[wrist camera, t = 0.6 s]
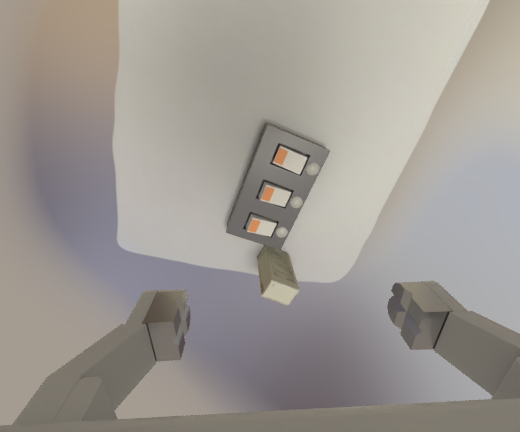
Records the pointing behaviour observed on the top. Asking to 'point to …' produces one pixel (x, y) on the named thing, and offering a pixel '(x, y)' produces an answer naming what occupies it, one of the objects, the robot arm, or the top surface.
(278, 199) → the rocker middle
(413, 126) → the top surface
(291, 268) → the skincare box
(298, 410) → the robot arm
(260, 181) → the switch panel
